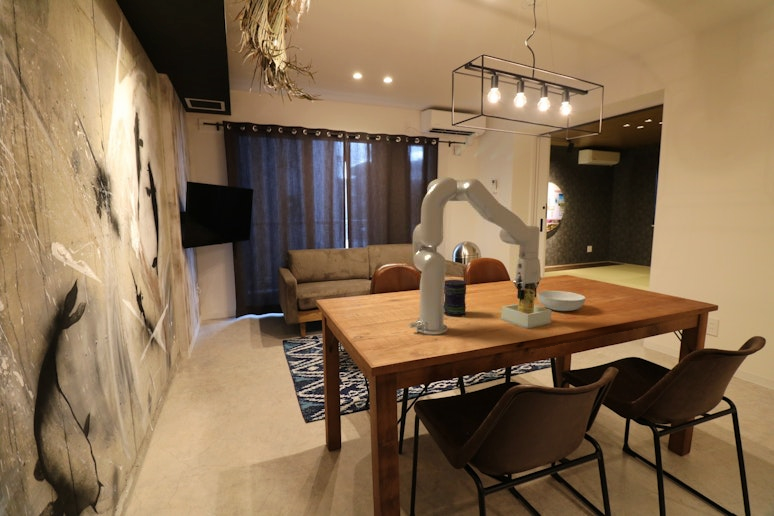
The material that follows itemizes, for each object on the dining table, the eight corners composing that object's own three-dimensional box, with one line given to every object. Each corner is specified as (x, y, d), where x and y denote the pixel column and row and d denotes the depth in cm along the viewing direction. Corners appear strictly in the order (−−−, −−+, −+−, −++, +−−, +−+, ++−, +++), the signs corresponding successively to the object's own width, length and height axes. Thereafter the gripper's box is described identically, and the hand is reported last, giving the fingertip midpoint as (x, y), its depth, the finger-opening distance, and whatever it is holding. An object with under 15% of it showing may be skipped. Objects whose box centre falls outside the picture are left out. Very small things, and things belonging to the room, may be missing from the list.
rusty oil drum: (448, 309, 177) (449, 279, 175) (468, 312, 172) (469, 281, 170) (440, 315, 169) (440, 282, 167) (461, 318, 164) (461, 285, 162)
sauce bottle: (516, 315, 157) (518, 269, 154) (518, 312, 163) (520, 267, 160) (533, 317, 154) (535, 270, 151) (534, 314, 160) (537, 268, 157)
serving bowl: (593, 315, 168) (594, 300, 167) (546, 315, 168) (547, 300, 167) (571, 303, 188) (572, 290, 187) (529, 303, 189) (530, 290, 188)
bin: (527, 328, 149) (528, 314, 149) (501, 319, 162) (501, 306, 161) (550, 323, 156) (551, 310, 155) (524, 315, 168) (524, 302, 167)
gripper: (520, 258, 148) (519, 302, 150) (550, 255, 156) (548, 297, 158) (506, 256, 154) (505, 298, 157) (535, 253, 162) (533, 293, 165)
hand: (526, 297), depth 157 cm, fingers closed on sauce bottle, 6 cm apart
